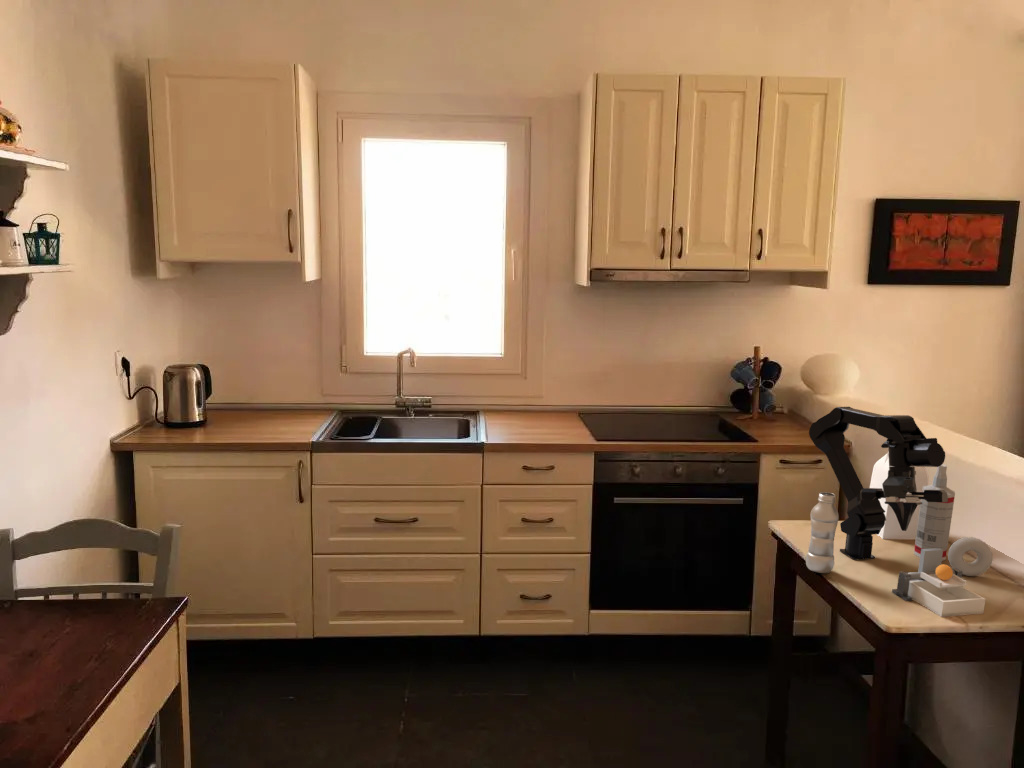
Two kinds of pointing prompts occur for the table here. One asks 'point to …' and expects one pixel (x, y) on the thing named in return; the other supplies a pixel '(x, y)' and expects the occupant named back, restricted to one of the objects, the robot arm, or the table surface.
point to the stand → (904, 584)
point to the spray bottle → (935, 517)
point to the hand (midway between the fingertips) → (904, 530)
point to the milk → (891, 524)
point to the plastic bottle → (822, 534)
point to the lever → (928, 567)
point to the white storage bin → (946, 599)
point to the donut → (970, 544)
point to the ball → (944, 572)
